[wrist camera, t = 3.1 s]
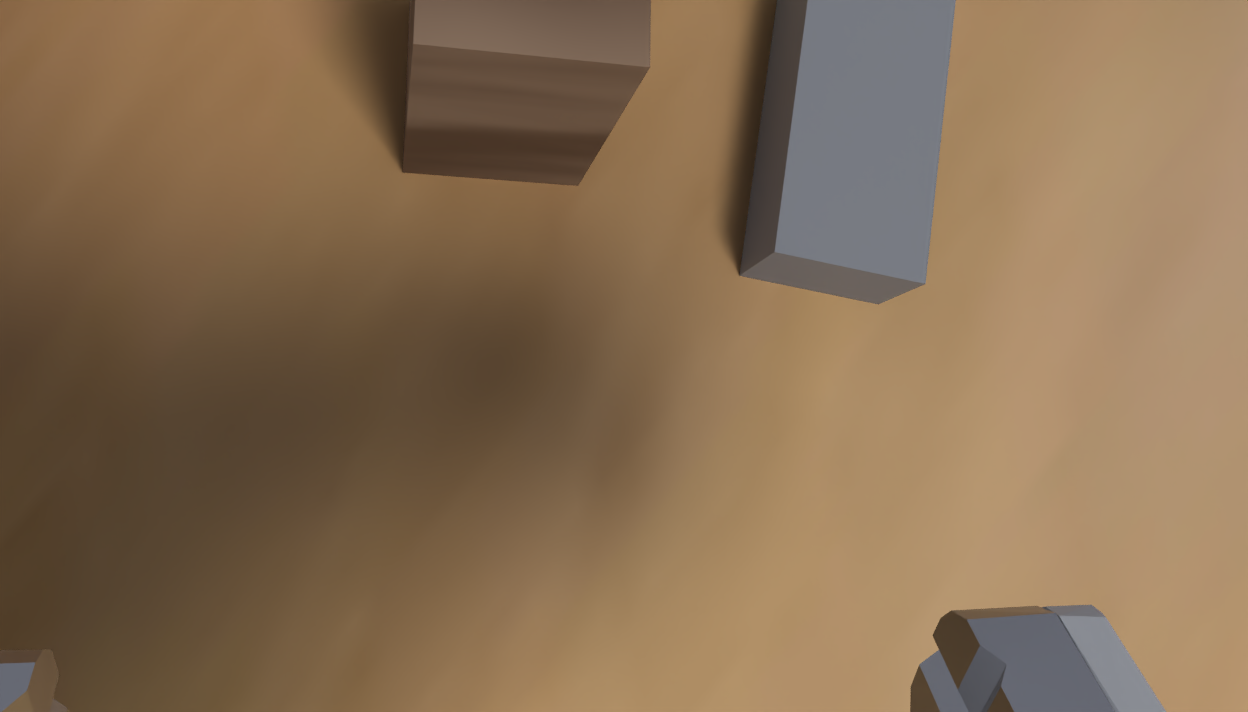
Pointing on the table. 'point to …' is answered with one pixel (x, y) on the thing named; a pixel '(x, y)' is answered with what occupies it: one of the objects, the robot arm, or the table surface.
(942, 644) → the robot arm
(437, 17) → the walnut column
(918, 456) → the table surface
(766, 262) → the grey flat brick
